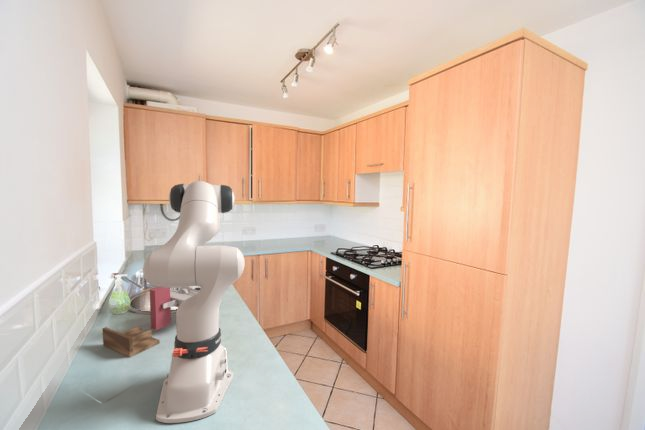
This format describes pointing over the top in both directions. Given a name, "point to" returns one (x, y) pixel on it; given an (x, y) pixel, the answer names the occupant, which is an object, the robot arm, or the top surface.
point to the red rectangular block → (159, 307)
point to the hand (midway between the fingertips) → (158, 305)
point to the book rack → (129, 341)
